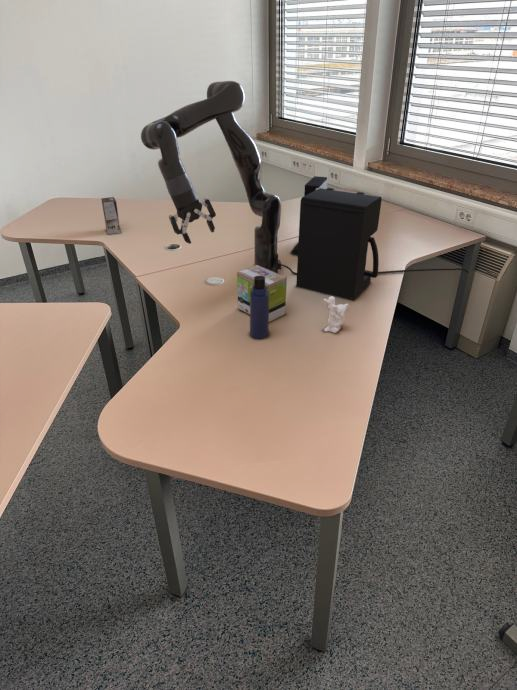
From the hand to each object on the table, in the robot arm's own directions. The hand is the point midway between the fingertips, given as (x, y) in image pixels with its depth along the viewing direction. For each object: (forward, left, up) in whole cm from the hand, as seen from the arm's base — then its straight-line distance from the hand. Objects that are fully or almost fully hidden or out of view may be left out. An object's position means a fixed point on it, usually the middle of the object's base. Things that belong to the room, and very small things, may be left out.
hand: (201, 237), depth 158 cm
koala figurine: (-42, +18, -28) cm, 53 cm away
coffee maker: (-53, -16, -28) cm, 62 cm away
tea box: (-20, +2, -28) cm, 34 cm away
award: (-57, -61, -28) cm, 88 cm away
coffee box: (+41, -97, -28) cm, 109 cm away
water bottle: (-16, +18, -28) cm, 37 cm away
